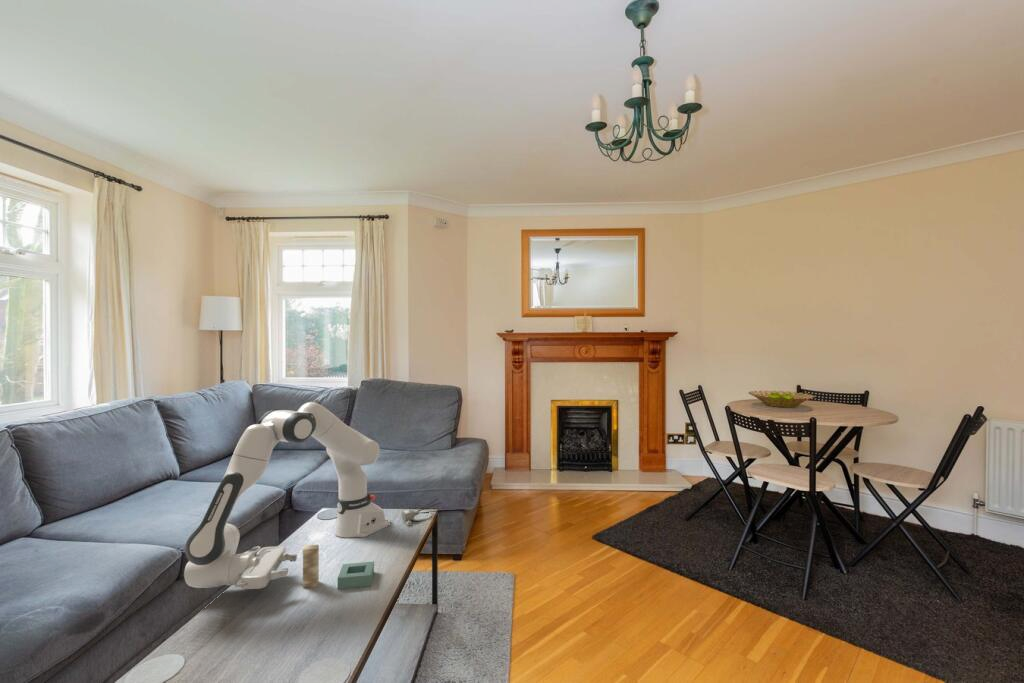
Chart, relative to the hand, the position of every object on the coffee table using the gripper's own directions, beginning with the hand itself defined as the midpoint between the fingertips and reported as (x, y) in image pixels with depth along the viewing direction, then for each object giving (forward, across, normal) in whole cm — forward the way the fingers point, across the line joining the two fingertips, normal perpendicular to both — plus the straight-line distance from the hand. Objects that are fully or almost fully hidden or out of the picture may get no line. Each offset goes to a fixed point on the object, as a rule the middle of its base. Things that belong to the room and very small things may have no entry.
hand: (292, 564), depth 142 cm
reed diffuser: (+41, +48, +8) cm, 64 cm away
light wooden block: (+6, 0, +7) cm, 9 cm away
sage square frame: (+20, 0, +7) cm, 21 cm away
